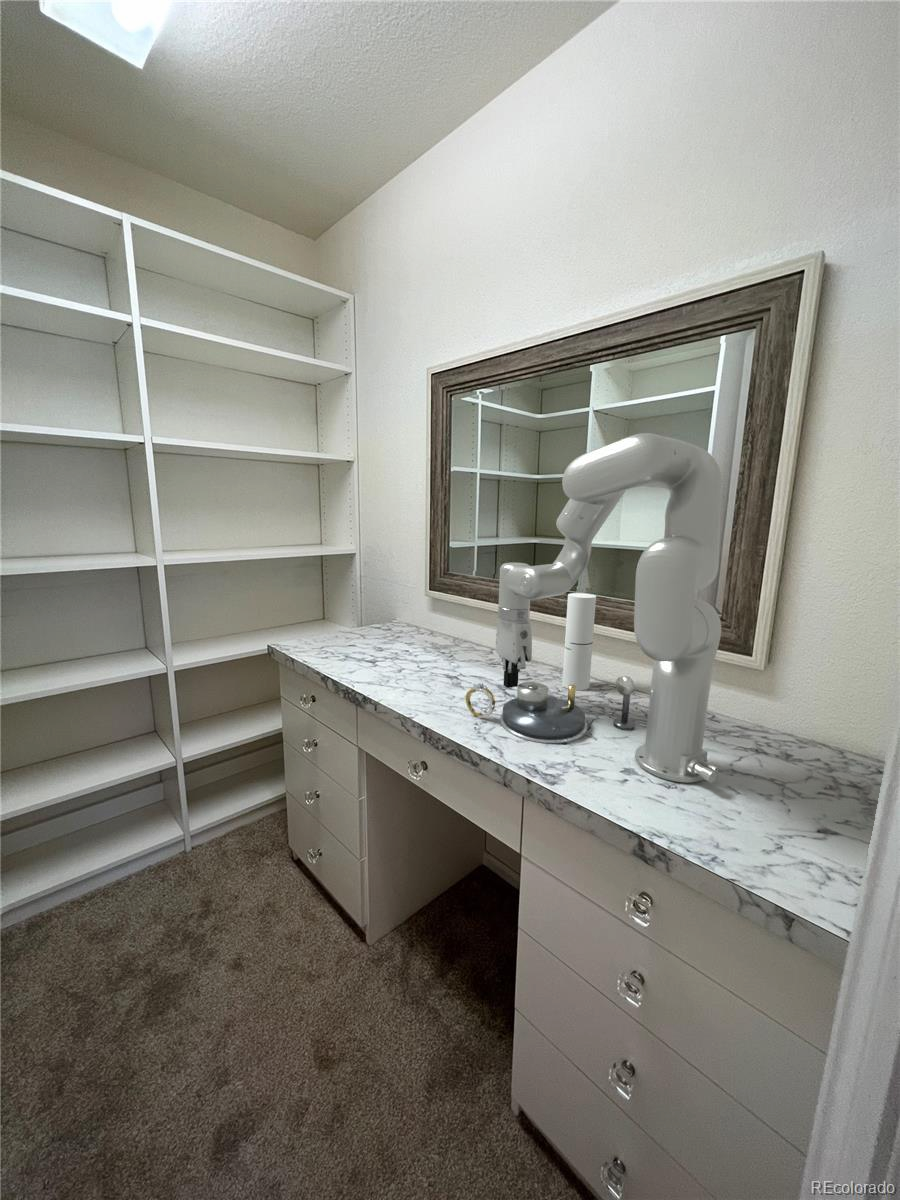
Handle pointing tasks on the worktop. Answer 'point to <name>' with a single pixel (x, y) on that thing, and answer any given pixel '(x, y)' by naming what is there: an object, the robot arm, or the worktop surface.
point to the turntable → (546, 718)
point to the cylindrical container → (579, 640)
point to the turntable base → (550, 741)
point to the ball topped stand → (624, 703)
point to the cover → (532, 696)
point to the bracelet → (484, 689)
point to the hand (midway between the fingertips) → (510, 686)
